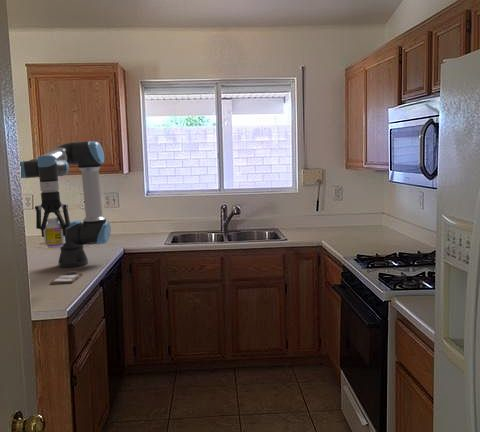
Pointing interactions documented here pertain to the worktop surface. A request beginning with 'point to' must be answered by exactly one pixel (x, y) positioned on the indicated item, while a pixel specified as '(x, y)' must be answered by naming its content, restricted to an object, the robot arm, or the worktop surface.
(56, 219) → the supplement bottle
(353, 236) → the worktop surface
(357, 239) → the worktop surface
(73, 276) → the clipboard
